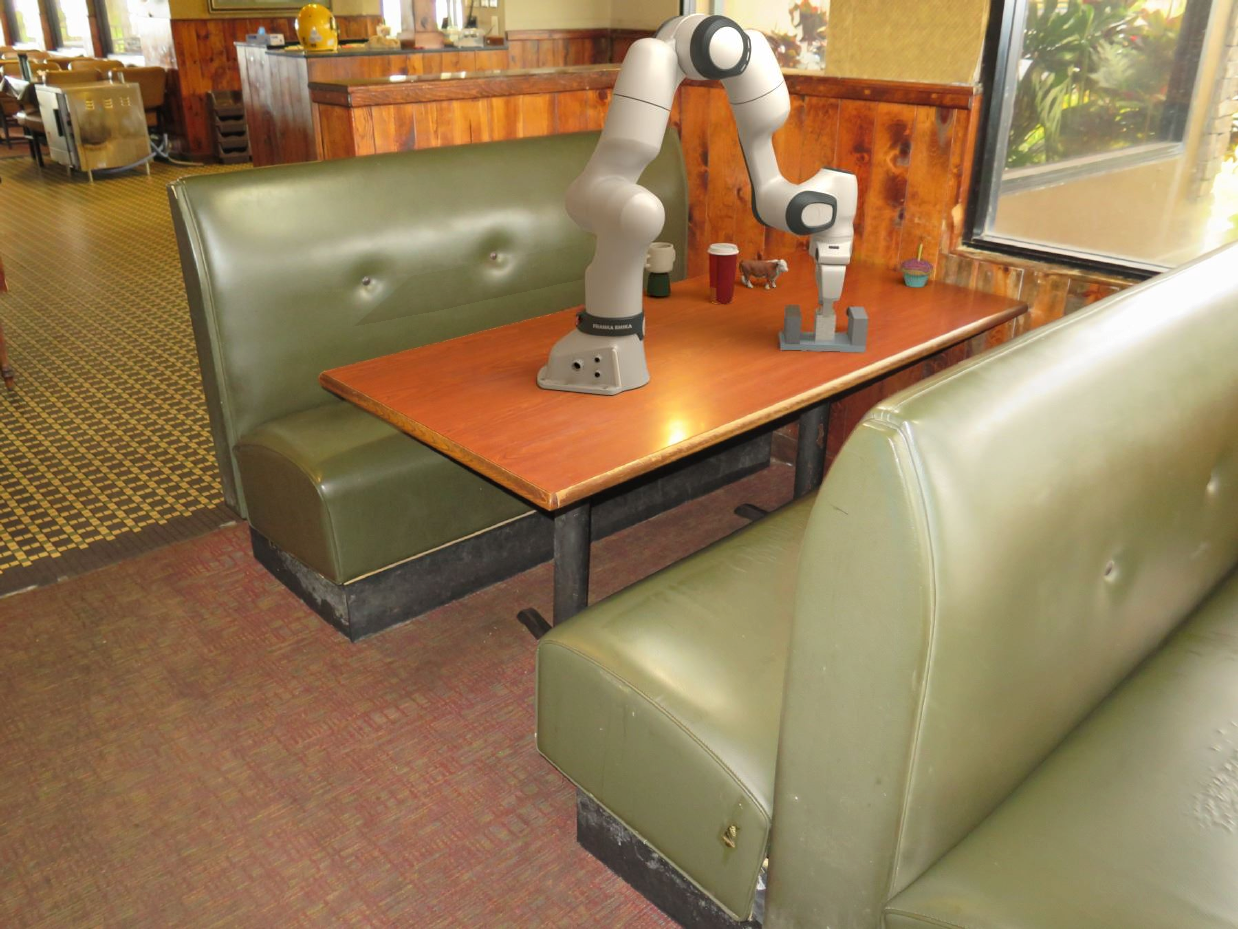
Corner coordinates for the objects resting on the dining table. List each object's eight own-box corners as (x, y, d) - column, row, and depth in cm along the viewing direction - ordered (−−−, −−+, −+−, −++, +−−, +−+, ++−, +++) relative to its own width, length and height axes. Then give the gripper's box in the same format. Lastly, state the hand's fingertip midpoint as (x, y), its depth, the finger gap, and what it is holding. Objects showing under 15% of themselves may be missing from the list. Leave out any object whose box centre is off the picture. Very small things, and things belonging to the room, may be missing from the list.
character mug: (664, 289, 263) (665, 239, 257) (683, 294, 258) (684, 244, 252) (633, 296, 256) (633, 246, 251) (652, 302, 251) (652, 250, 246)
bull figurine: (785, 292, 259) (787, 261, 256) (736, 287, 264) (737, 256, 261) (790, 288, 263) (792, 257, 259) (741, 283, 268) (743, 253, 264)
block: (815, 341, 217) (817, 315, 214) (813, 334, 221) (815, 308, 219) (833, 342, 216) (836, 315, 214) (831, 335, 221) (833, 308, 218)
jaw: (785, 343, 216) (787, 316, 213) (783, 330, 224) (785, 304, 221) (799, 343, 215) (801, 316, 213) (797, 331, 223) (798, 305, 221)
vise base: (780, 350, 216) (782, 316, 213) (776, 327, 232) (778, 295, 228) (865, 352, 215) (868, 318, 212) (855, 329, 230) (859, 297, 227)
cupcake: (934, 289, 261) (941, 243, 256) (902, 289, 261) (907, 243, 256) (926, 281, 269) (931, 236, 264) (894, 281, 269) (899, 236, 264)
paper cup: (741, 300, 253) (744, 244, 247) (728, 307, 247) (730, 250, 241) (714, 295, 257) (716, 241, 251) (700, 302, 251) (701, 247, 245)
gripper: (811, 236, 220) (806, 298, 226) (819, 256, 201) (813, 323, 207) (840, 237, 219) (834, 299, 225) (851, 258, 201) (843, 324, 207)
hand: (824, 311), depth 216 cm, fingers open, 8 cm apart
